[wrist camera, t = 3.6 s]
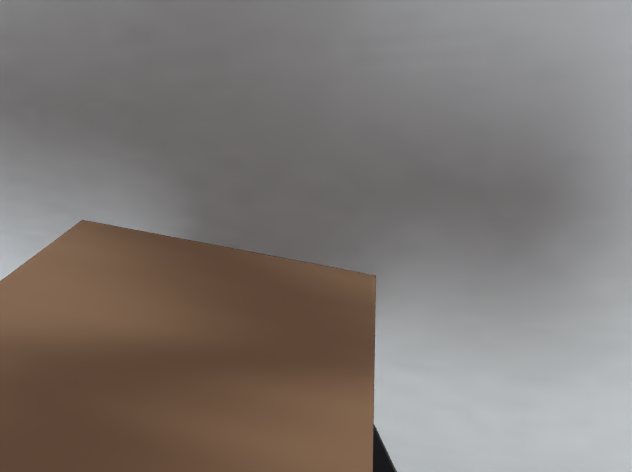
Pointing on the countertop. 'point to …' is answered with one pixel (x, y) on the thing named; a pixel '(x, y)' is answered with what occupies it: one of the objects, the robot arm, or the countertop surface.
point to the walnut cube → (183, 359)
